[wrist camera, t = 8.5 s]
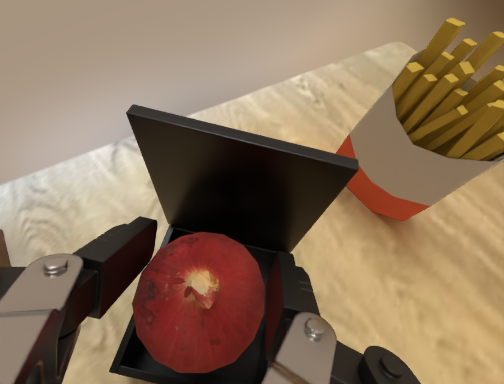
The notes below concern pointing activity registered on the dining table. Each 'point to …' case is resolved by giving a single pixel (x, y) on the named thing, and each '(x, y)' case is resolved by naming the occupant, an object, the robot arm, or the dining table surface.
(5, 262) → the pedestal
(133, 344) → the box
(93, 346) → the dining table surface
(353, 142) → the french fries container
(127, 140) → the dining table surface
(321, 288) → the dining table surface
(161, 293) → the pomegranate
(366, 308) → the dining table surface
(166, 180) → the box lid
